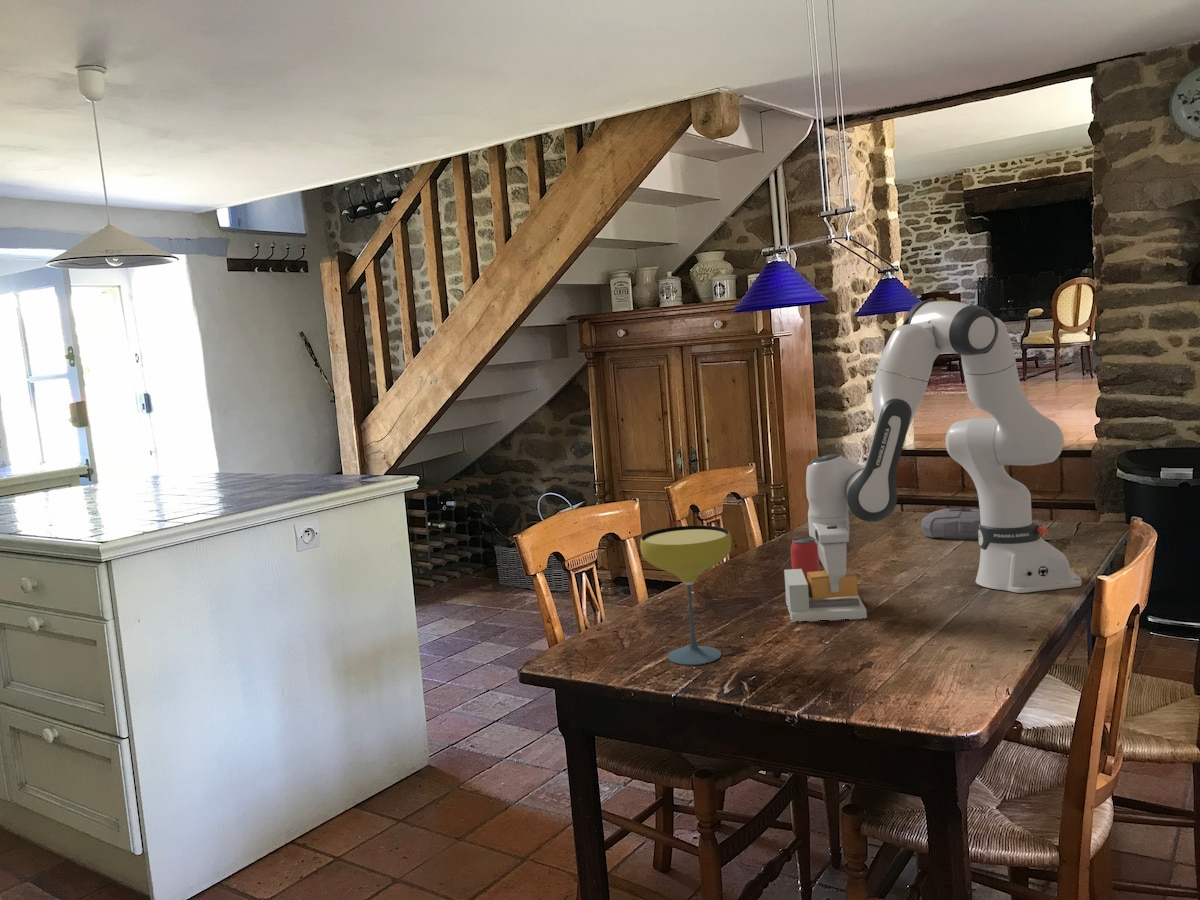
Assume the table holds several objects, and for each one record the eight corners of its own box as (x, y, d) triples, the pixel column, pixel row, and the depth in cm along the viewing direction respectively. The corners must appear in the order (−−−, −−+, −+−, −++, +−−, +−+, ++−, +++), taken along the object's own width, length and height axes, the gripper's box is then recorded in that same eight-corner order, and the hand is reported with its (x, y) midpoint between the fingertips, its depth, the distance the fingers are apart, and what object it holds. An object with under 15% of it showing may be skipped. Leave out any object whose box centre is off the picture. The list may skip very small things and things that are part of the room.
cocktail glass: (738, 671, 179) (728, 542, 176) (644, 673, 182) (633, 547, 179) (740, 640, 197) (732, 523, 194) (655, 642, 200) (645, 527, 197)
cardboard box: (852, 589, 214) (851, 568, 214) (857, 595, 209) (856, 573, 209) (808, 593, 214) (806, 572, 214) (812, 599, 209) (811, 577, 209)
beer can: (820, 590, 229) (817, 541, 227) (793, 591, 230) (790, 543, 229) (819, 583, 235) (817, 536, 234) (793, 583, 236) (790, 537, 235)
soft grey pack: (995, 530, 275) (923, 530, 283) (994, 502, 274) (922, 503, 282) (994, 541, 262) (919, 541, 270) (993, 512, 261) (917, 513, 269)
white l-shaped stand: (855, 598, 219) (853, 564, 218) (866, 618, 204) (864, 582, 203) (786, 601, 221) (783, 568, 220) (791, 622, 206) (789, 586, 205)
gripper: (809, 519, 221) (813, 576, 222) (819, 537, 201) (823, 600, 202) (837, 517, 220) (840, 574, 221) (849, 535, 200) (853, 599, 201)
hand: (832, 587), depth 212 cm, fingers closed on cardboard box, 5 cm apart
